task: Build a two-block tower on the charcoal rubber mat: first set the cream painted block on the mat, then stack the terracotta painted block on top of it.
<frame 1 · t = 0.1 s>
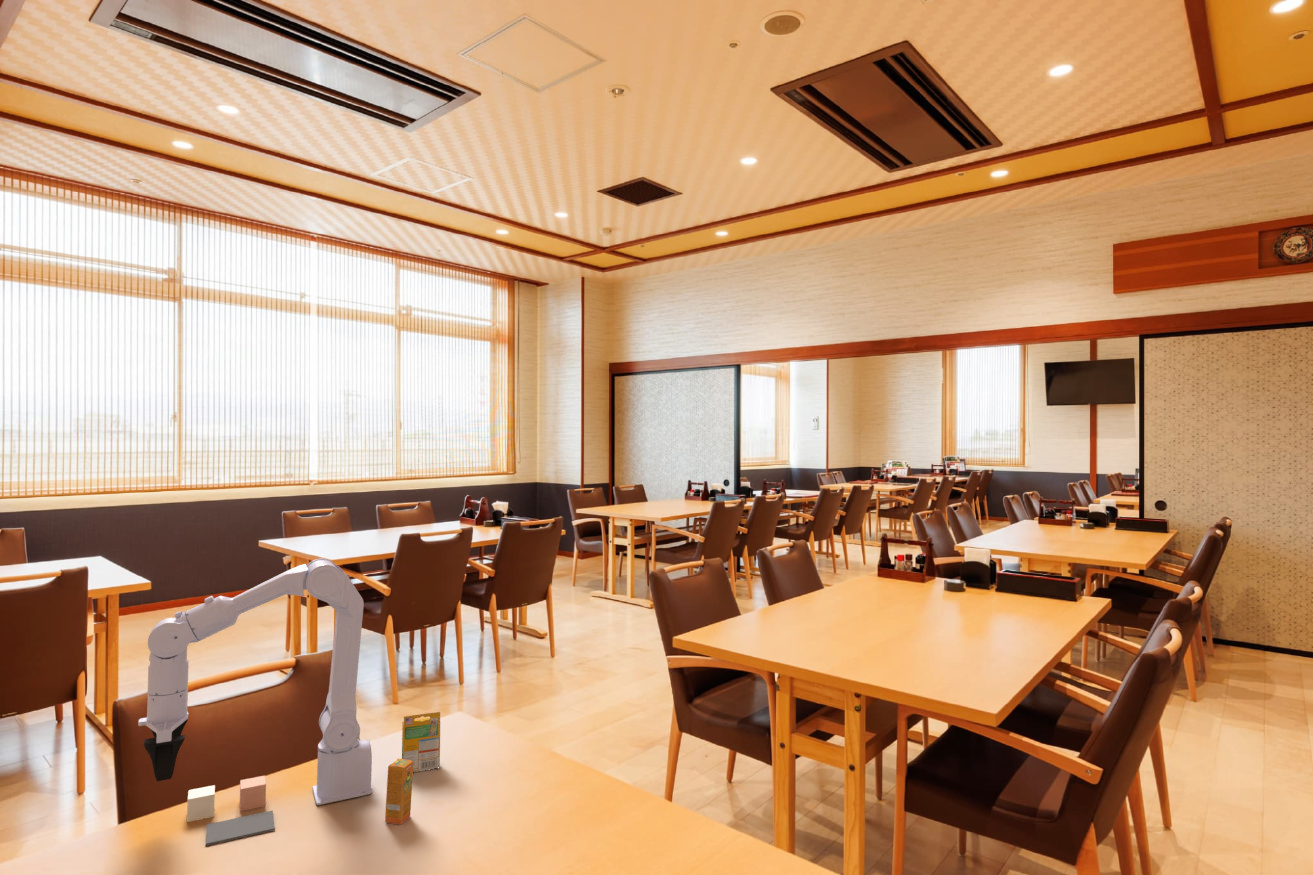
hand: (165, 770, 122), 10 cm above the table, tool pointing down, fingers open, 7 cm apart
terracotta block: (252, 804, 131), on the table
crayon box: (420, 769, 147), on the table
build mat: (240, 828, 122), on the table
supplement box: (398, 820, 126), on the table
cream block: (200, 814, 127), on the table
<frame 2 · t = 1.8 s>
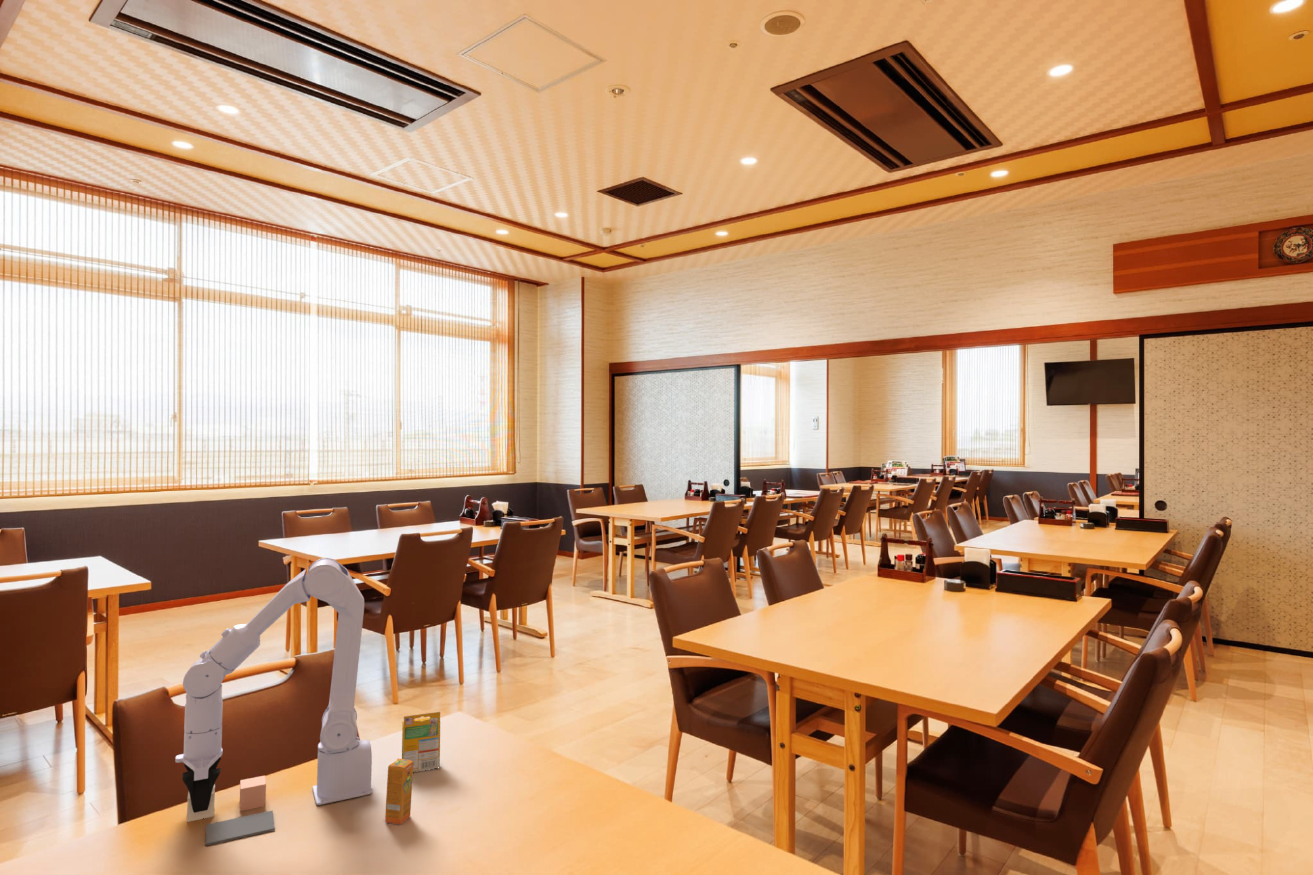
hand: (201, 804, 127), 2 cm above the table, tool pointing down, fingers closed on cream block, 4 cm apart
cream block: (200, 814, 127), on the table, touching gripper
everything else where it was.
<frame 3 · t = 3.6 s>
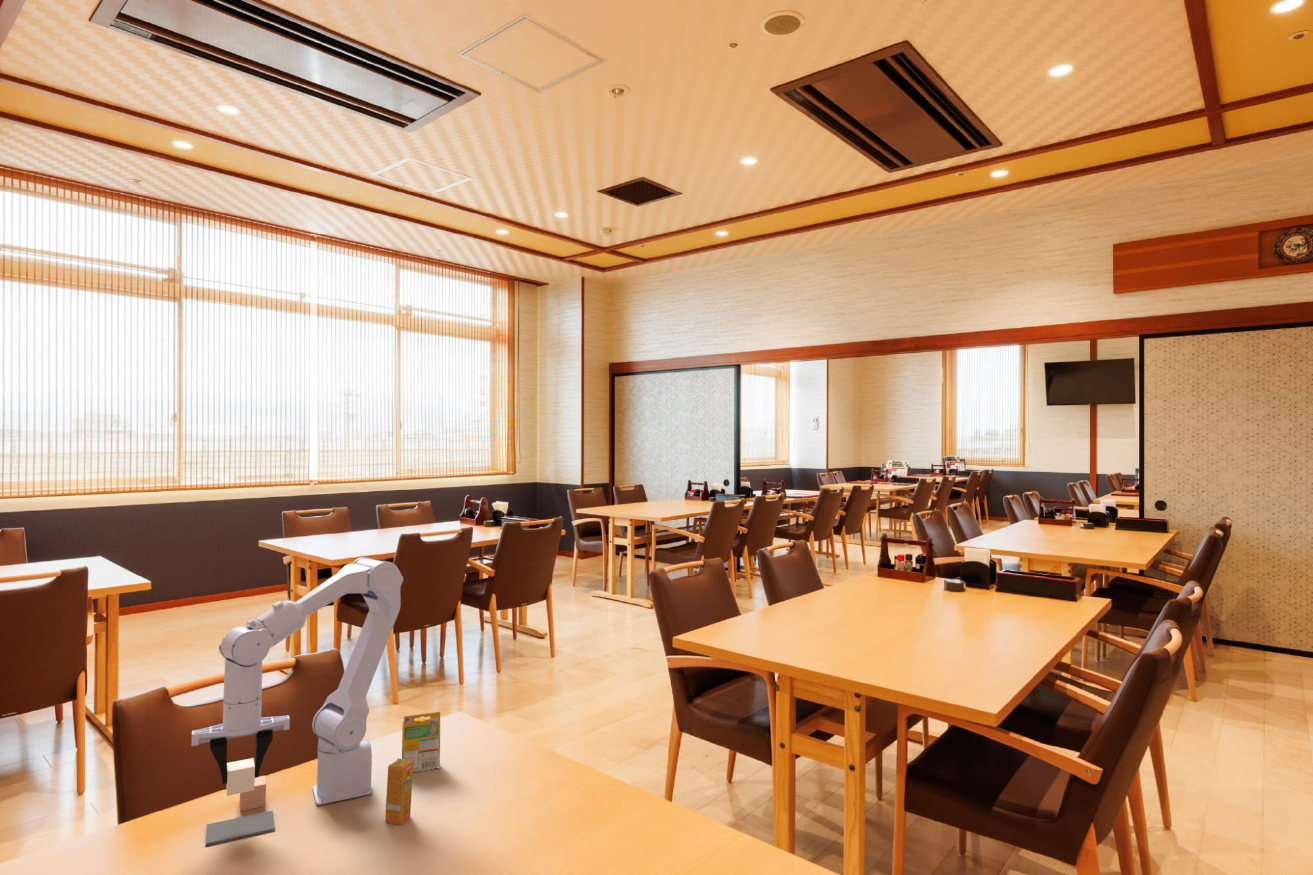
hand: (240, 778, 123), 8 cm above the table, tool pointing down, fingers closed on cream block, 4 cm apart
cream block: (240, 788, 123), point 7 cm above the table, touching gripper
everything else where it was.
when the fingers open (3 cm above the table, at t = 5.4 s): cream block stays where it is, resting on build mat.
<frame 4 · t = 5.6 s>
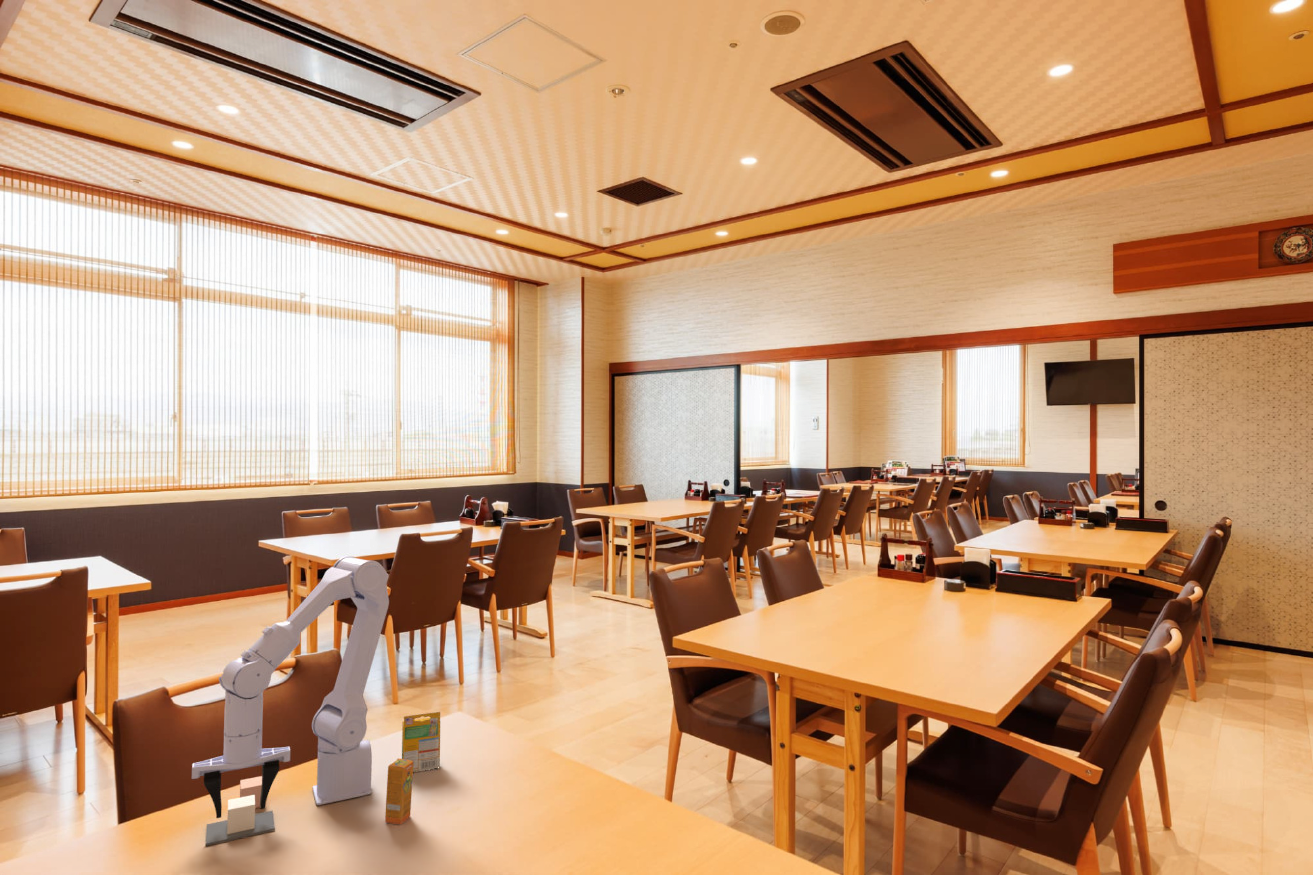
hand: (241, 810, 123), 3 cm above the table, tool pointing down, fingers open, 6 cm apart
cream block: (240, 825, 123), resting on build mat
everything else where it was.
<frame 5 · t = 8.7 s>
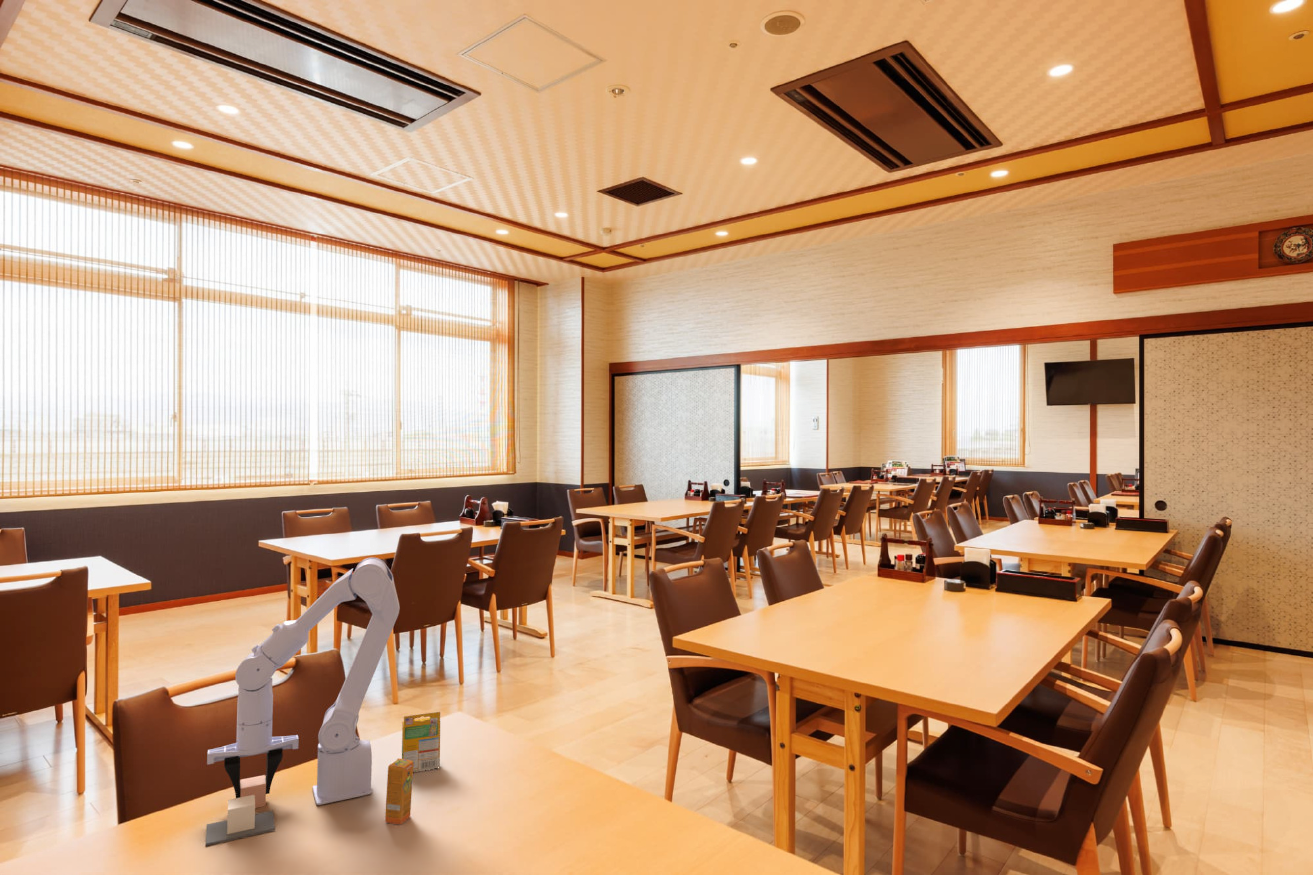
hand: (252, 794, 131), 2 cm above the table, tool pointing down, fingers closed on terracotta block, 4 cm apart
terracotta block: (252, 803, 131), on the table, touching gripper
everything else where it was.
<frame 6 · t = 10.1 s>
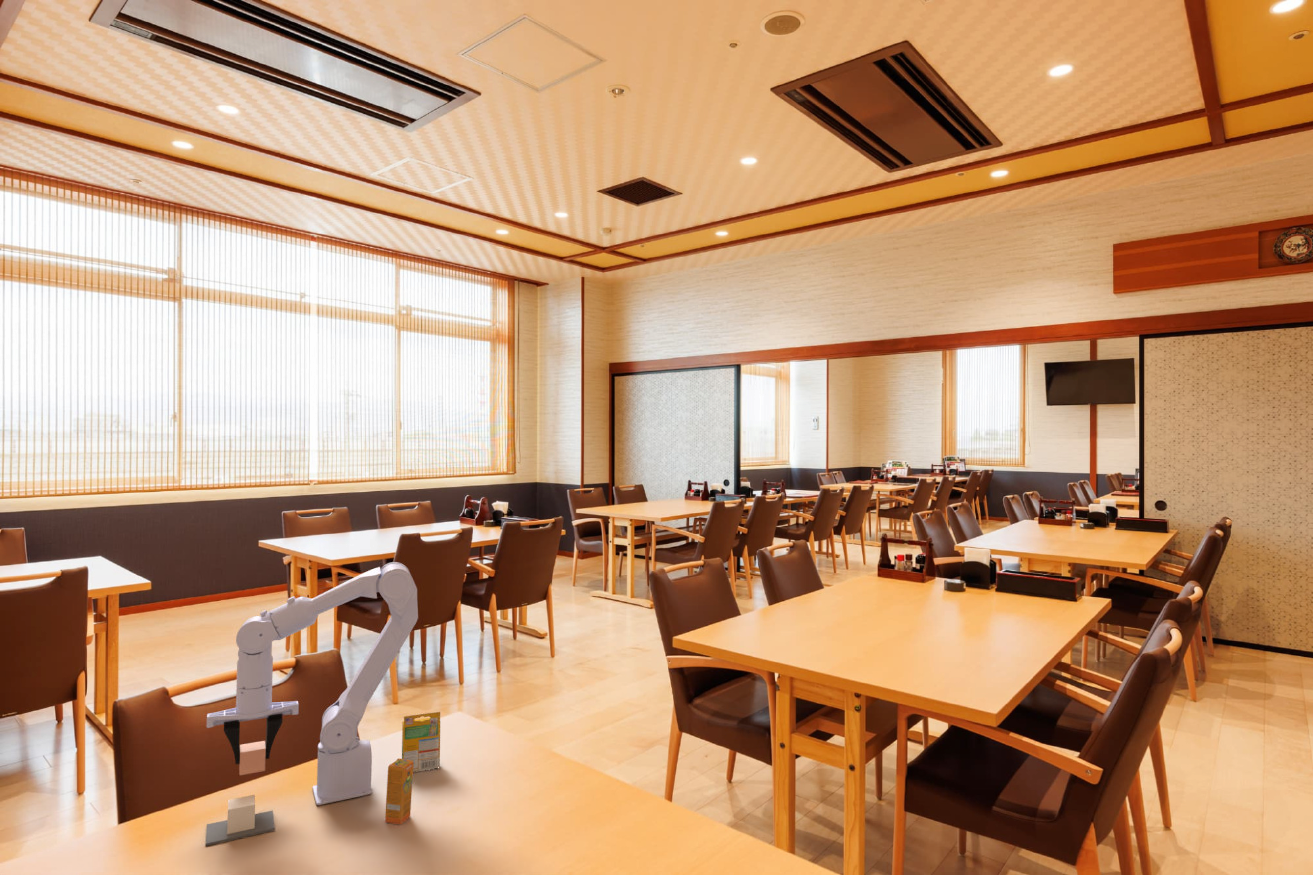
hand: (252, 759, 130), 8 cm above the table, tool pointing down, fingers closed on terracotta block, 4 cm apart
terracotta block: (252, 768, 130), point 7 cm above the table, touching gripper
everything else where it was.
when the fingers open (7 cm above the table, at t = 11.4 s): terracotta block stays where it is, resting on cream block.
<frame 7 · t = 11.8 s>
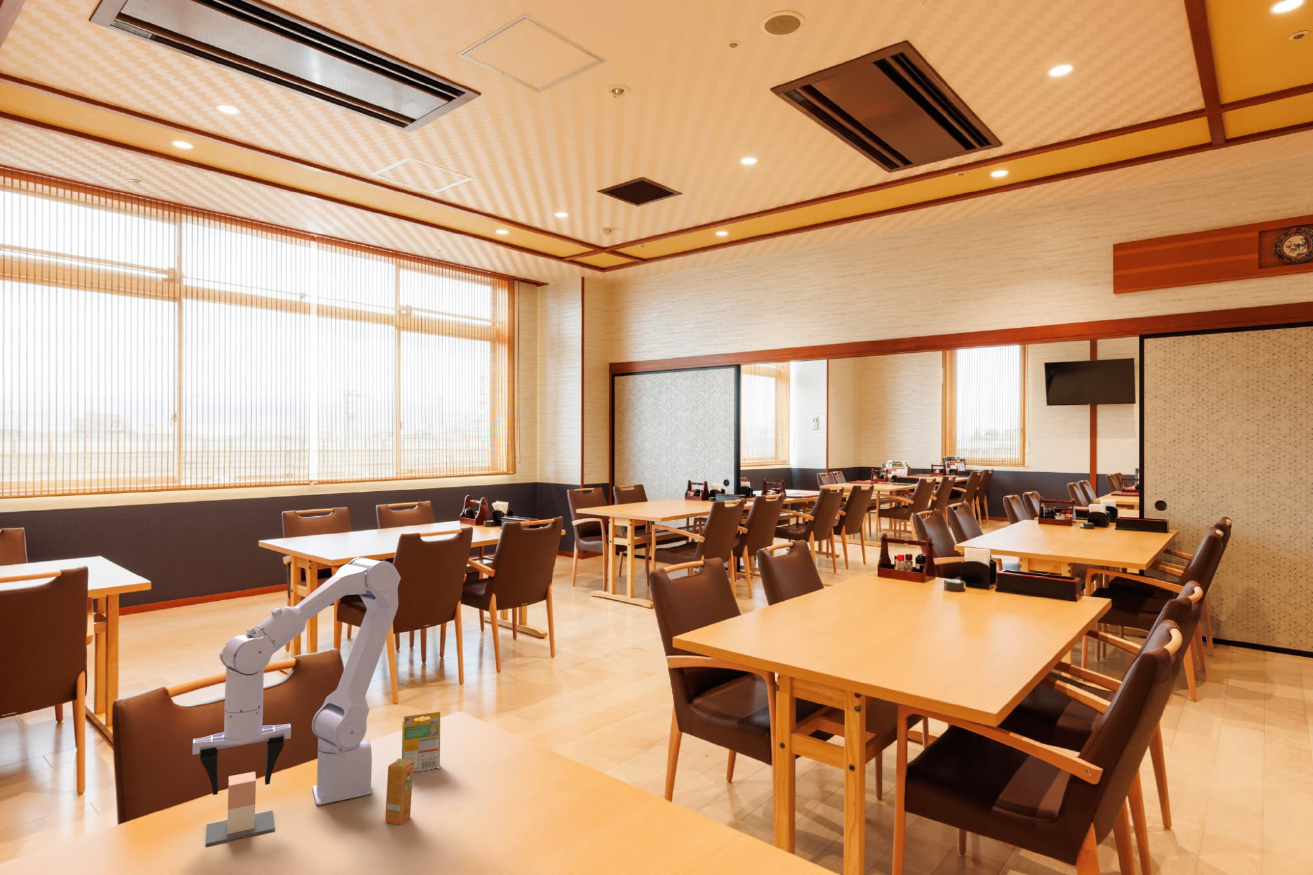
hand: (241, 787, 123), 7 cm above the table, tool pointing down, fingers open, 7 cm apart
terracotta block: (241, 801, 123), point 4 cm above the table, touching cream block
cream block: (240, 825, 123), resting on build mat, touching terracotta block
everything else where it was.
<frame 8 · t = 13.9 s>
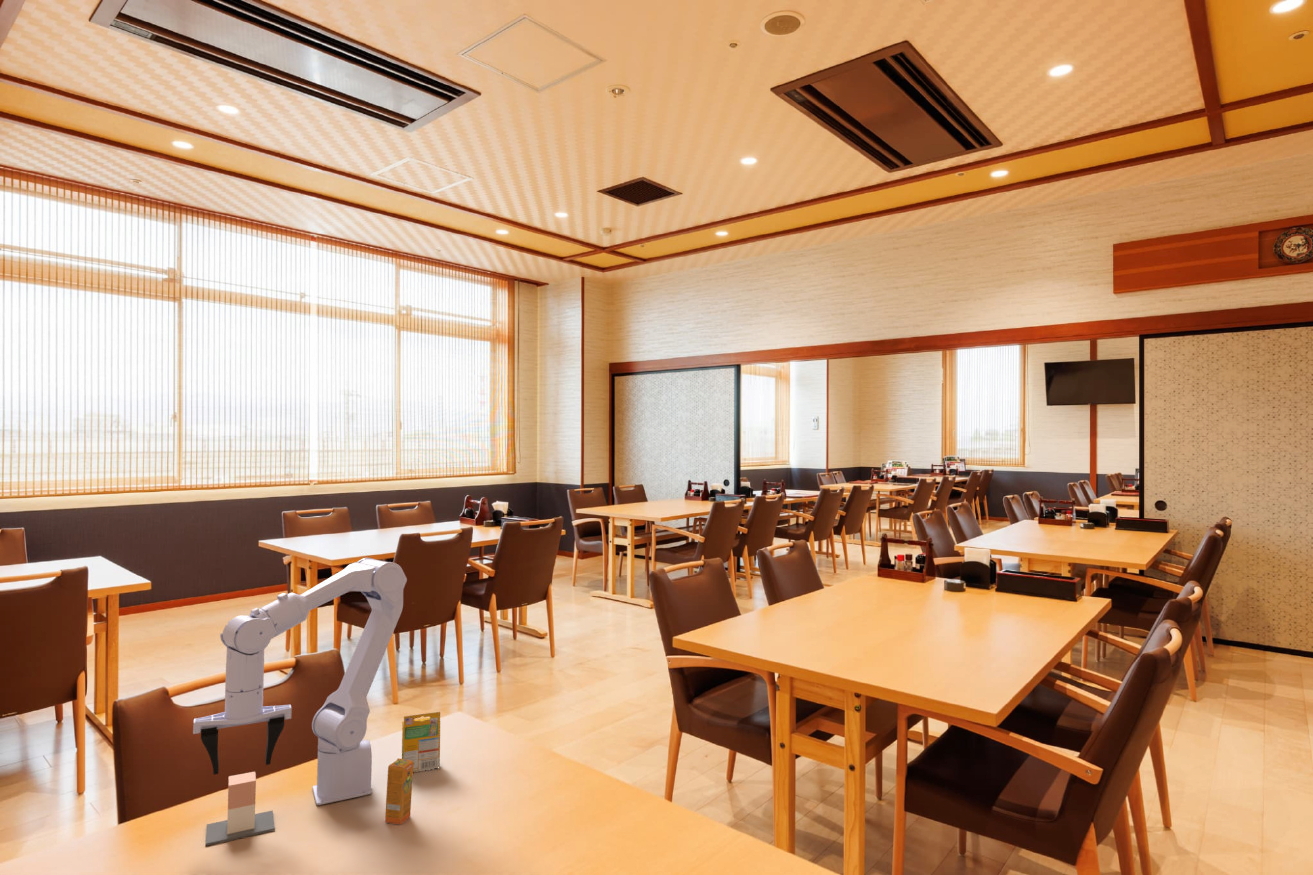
hand: (242, 767, 123), 10 cm above the table, tool pointing down, fingers open, 7 cm apart
nothing on the table moved.
at the end: cream block 0.2 cm off-centre on the build mat, point 0.4 cm above the build mat's base; terracotta block 0.1 cm off-centre on the cream block, point 4.0 cm above the cream block's base; terracotta block tilted 0° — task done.
